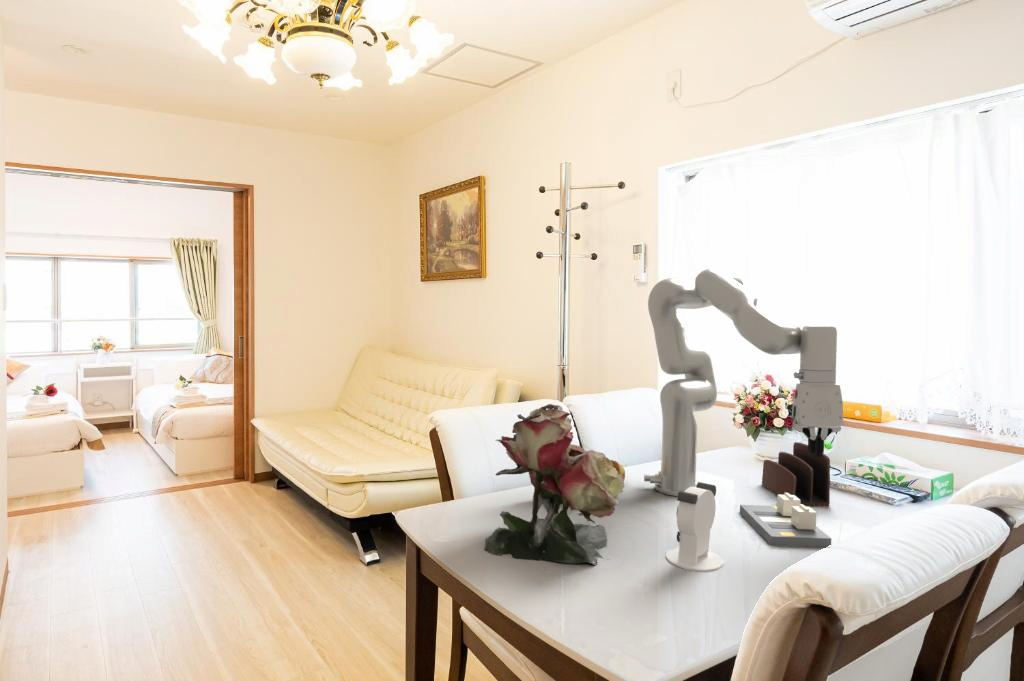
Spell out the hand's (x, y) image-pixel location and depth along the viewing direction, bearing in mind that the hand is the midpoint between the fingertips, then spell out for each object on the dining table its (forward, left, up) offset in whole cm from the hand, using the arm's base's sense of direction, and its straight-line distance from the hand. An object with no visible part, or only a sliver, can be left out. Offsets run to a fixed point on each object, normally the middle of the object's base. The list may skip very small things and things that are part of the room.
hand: (815, 455), depth 148 cm
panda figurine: (-32, -19, -18) cm, 41 cm away
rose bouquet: (-60, -11, -19) cm, 64 cm away
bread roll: (-45, +37, -19) cm, 61 cm away
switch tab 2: (-3, -3, -16) cm, 16 cm away
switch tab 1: (-3, +6, -16) cm, 17 cm away
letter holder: (+8, +30, -19) cm, 36 cm away
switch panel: (-6, +2, -18) cm, 19 cm away
